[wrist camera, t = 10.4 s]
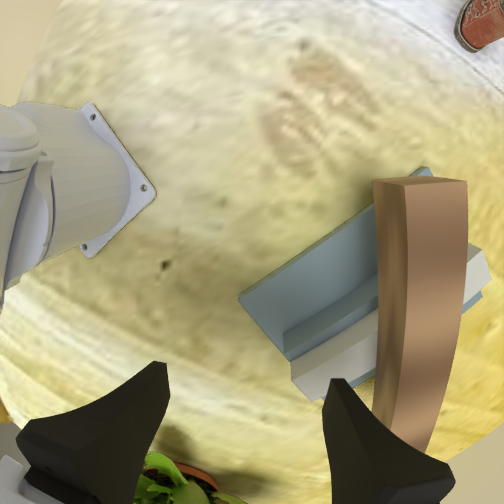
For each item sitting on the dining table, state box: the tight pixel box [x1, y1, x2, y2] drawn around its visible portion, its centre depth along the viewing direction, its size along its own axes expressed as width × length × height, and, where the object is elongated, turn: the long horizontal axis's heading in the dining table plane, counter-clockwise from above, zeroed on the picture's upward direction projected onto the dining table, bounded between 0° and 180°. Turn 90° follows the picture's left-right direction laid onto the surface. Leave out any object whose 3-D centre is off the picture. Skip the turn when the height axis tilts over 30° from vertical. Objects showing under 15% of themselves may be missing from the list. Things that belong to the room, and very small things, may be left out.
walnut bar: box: [372, 176, 468, 453], centre depth 14 cm, size 18×3×4 cm, turn 9°
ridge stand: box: [238, 167, 492, 402], centre depth 18 cm, size 16×12×6 cm
